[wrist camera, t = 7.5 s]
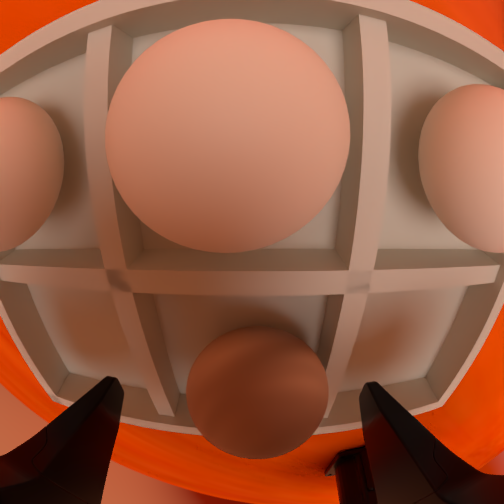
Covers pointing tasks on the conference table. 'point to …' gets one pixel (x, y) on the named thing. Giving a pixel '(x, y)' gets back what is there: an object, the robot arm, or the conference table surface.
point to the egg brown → (257, 392)
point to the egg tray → (263, 259)
